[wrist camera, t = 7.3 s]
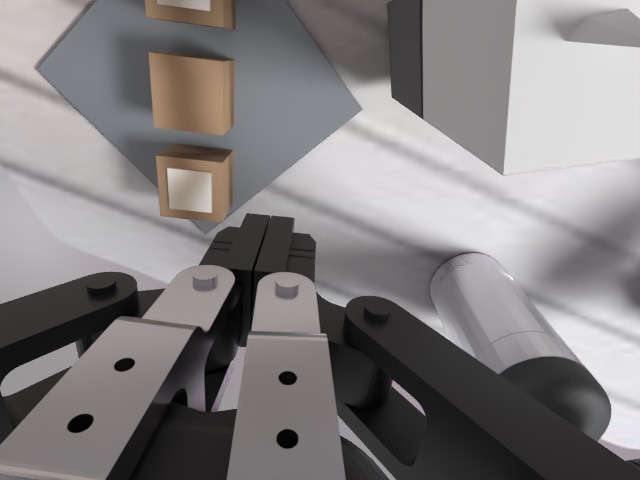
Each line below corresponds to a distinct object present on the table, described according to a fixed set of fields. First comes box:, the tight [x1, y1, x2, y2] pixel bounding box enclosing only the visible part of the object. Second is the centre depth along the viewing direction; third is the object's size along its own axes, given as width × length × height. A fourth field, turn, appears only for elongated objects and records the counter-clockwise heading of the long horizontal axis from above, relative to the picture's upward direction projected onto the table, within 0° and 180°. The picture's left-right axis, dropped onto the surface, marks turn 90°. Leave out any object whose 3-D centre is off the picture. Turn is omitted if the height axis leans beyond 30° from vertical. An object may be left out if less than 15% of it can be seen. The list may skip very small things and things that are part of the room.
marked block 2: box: [156, 143, 233, 223], centre depth 39 cm, size 6×6×5 cm
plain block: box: [149, 52, 235, 136], centre depth 35 cm, size 6×6×5 cm
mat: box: [37, 0, 362, 235], centre depth 38 cm, size 22×22×1 cm
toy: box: [387, 0, 640, 176], centre depth 23 cm, size 15×7×30 cm, turn 98°
